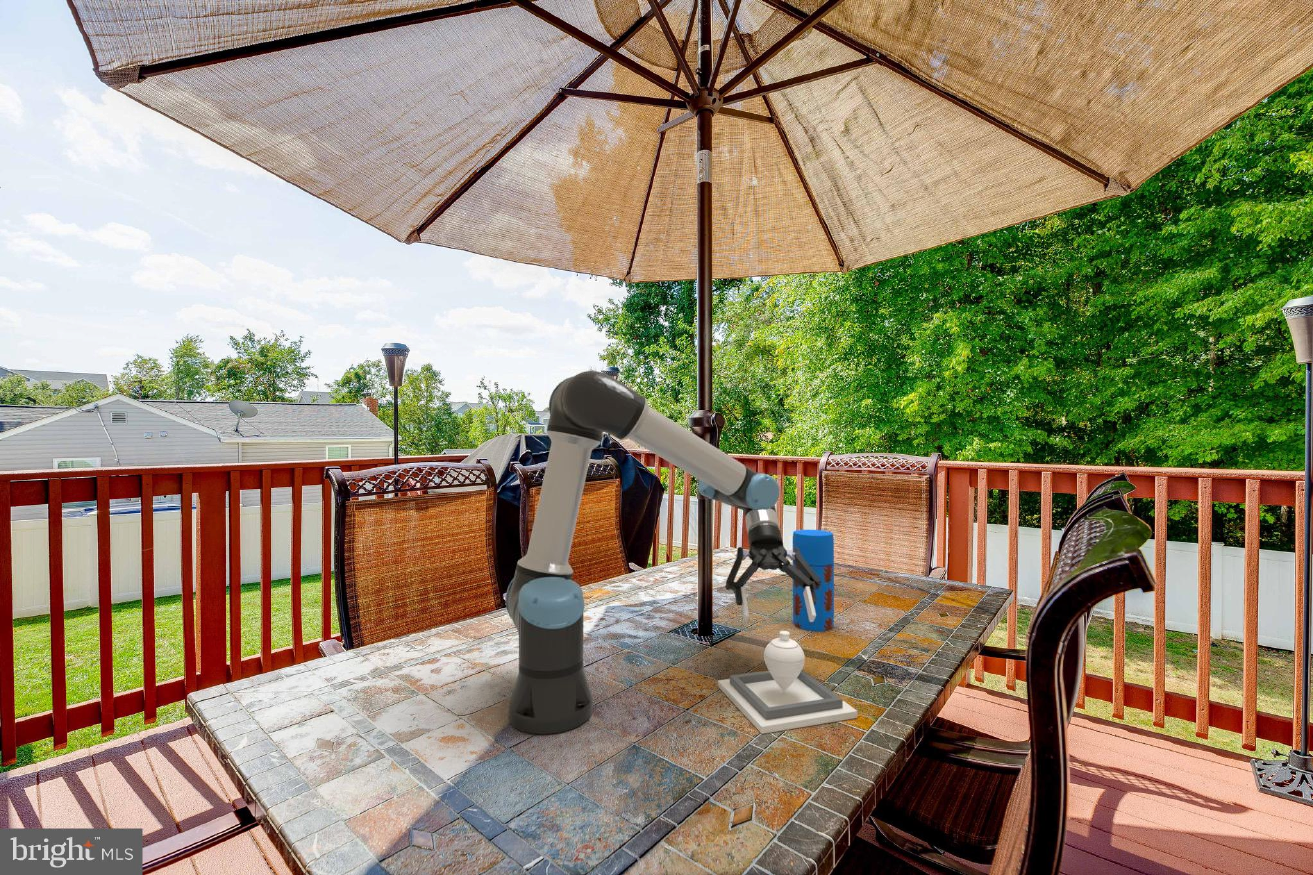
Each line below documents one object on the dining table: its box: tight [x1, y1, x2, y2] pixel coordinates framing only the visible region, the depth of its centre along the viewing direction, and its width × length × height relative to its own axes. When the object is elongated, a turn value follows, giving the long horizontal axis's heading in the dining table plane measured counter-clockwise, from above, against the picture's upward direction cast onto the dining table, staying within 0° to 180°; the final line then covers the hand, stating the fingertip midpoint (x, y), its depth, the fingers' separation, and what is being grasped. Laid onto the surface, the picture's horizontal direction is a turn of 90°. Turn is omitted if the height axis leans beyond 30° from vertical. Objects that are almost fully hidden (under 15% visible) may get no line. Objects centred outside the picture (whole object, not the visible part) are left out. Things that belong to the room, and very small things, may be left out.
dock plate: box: [717, 669, 858, 735], centre depth 105 cm, size 19×19×3 cm
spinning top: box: [763, 630, 806, 695], centre depth 105 cm, size 8×8×12 cm
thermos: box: [792, 529, 835, 632], centre depth 149 cm, size 11×11×25 cm
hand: (779, 619), depth 111 cm, fingers open, 13 cm apart
